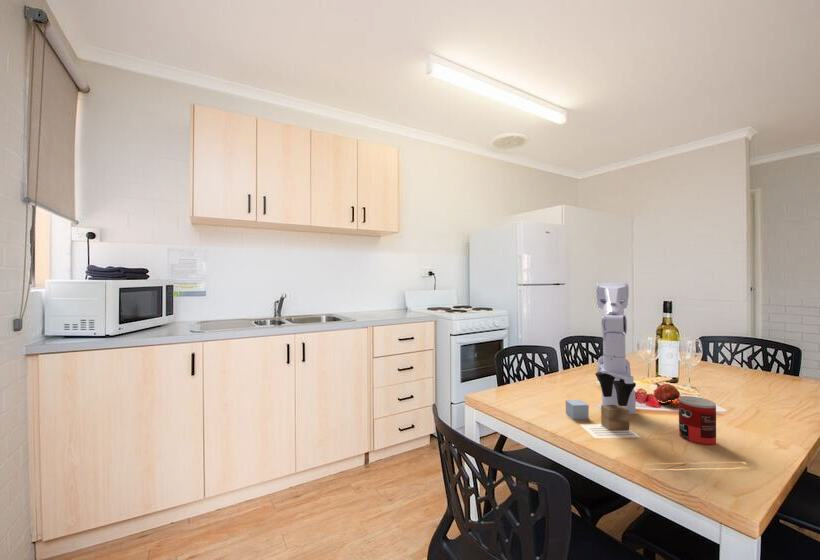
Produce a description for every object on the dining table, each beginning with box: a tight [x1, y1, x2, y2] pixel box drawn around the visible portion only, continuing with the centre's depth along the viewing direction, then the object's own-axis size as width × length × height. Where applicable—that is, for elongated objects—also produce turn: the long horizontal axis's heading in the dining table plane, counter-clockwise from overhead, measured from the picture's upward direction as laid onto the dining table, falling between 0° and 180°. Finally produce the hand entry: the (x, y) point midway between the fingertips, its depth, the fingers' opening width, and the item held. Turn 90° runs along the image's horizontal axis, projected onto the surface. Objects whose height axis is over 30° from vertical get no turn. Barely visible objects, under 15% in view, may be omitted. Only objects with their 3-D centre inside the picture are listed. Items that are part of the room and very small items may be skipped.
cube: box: [565, 399, 590, 420], centre depth 113 cm, size 5×5×5 cm
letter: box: [579, 423, 641, 439], centre depth 103 cm, size 13×9×1 cm
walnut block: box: [600, 404, 630, 430], centre depth 105 cm, size 6×4×6 cm, turn 91°
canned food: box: [678, 395, 717, 446], centre depth 97 cm, size 8×8×11 cm
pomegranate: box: [653, 382, 681, 403], centre depth 124 cm, size 7×7×10 cm
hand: (614, 400), depth 104 cm, fingers open, 7 cm apart
